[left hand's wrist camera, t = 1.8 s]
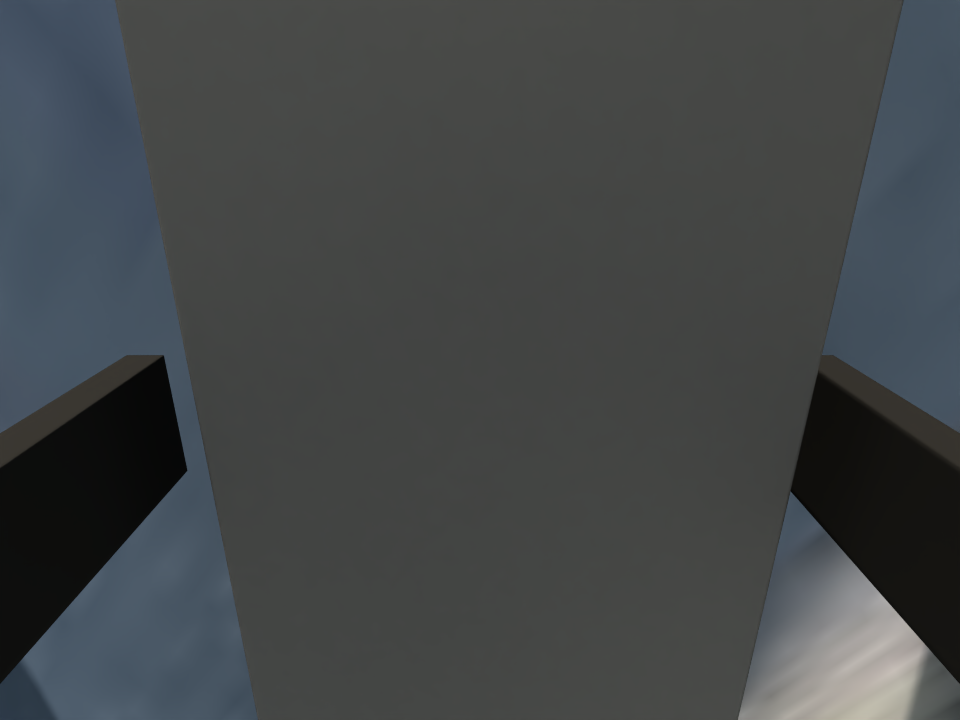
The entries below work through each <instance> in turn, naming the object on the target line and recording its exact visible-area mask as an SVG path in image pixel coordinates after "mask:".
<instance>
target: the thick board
mask: <svg viewBox="0 0 960 720" xmlns="http://www.w3.org/2000/svg"><path fill="white" fill-rule="evenodd" d="M903 1H904V0H115V2H116V7H117V12H118V17H119V22H120V27H121V32H122V37H123V42H124V47H125V52H126V57H127V62H128V67H129V72H130V77H131V82H132V87H133V92H134V97H135V102H136V107H137V112H138V117H139V122H140V127H141V132H142V137H143V142H144V147H145V152H146V157H147V163H148V168H149V173H150V178H151V183H152V188H153V193H154V198H155V203H156V208H157V213H158V218H159V223H160V228H161V233H162V238H163V243H164V248H165V253H166V258H167V263H168V268H169V273H170V278H171V283H172V288H173V293H174V298H175V303H176V308H177V313H178V318H179V323H180V329H181V334H182V339H183V344H184V349H185V354H186V359H187V364H188V369H189V374H190V379H191V384H192V389H193V394H194V399H195V404H196V409H197V414H198V419H199V424H200V429H201V434H202V439H203V444H204V449H205V454H206V459H207V464H208V469H209V474H210V479H211V484H212V490H213V495H214V500H215V505H216V510H217V515H218V520H219V525H220V530H221V535H222V540H223V545H224V550H225V555H226V560H227V565H228V570H229V575H230V580H231V585H232V590H233V595H234V600H235V605H236V610H237V615H238V620H239V625H240V630H241V635H242V640H243V645H244V651H245V656H246V661H247V666H248V671H249V676H250V681H251V686H252V691H253V696H254V701H255V706H256V711H257V716H258V720H738V716H739V712H740V707H741V703H742V699H743V694H744V690H745V686H746V681H747V677H748V673H749V668H750V664H751V660H752V655H753V651H754V647H755V642H756V638H757V634H758V629H759V625H760V621H761V616H762V612H763V608H764V603H765V599H766V595H767V590H768V586H769V582H770V577H771V573H772V569H773V564H774V560H775V556H776V551H777V547H778V543H779V538H780V534H781V530H782V525H783V521H784V517H785V512H786V508H787V504H788V499H789V495H790V491H791V486H792V482H793V478H794V473H795V469H796V465H797V460H798V456H799V452H800V447H801V443H802V439H803V434H804V430H805V425H806V421H807V417H808V412H809V408H810V404H811V399H812V395H813V391H814V386H815V382H816V378H817V373H818V369H819V365H820V360H821V356H822V352H823V347H824V343H825V339H826V334H827V330H828V326H829V321H830V317H831V313H832V308H833V304H834V300H835V295H836V291H837V287H838V282H839V278H840V274H841V269H842V265H843V261H844V256H845V252H846V248H847V243H848V239H849V235H850V230H851V226H852V222H853V217H854V213H855V209H856V204H857V200H858V196H859V191H860V187H861V183H862V178H863V174H864V170H865V165H866V161H867V157H868V152H869V148H870V144H871V139H872V135H873V131H874V126H875V122H876V118H877V113H878V109H879V105H880V100H881V96H882V92H883V87H884V83H885V79H886V74H887V70H888V66H889V61H890V57H891V53H892V48H893V44H894V40H895V35H896V31H897V27H898V22H899V18H900V14H901V9H902V5H903Z"/></svg>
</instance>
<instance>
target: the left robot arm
mask: <svg viewBox="0 0 960 720" xmlns="http://www.w3.org/2000/svg"><path fill="white" fill-rule="evenodd" d="M186 472H187V466H186V462H185V457H184V452H183V447H182V442H181V437H180V432H179V427H178V423H177V418H176V413H175V408H174V403H173V398H172V393H171V388H170V384H169V379H168V374H167V369H166V364H165V359H164V355H127V356H125V357H123V358H122V359H120V360H118V361H117V362H115V363H114V364H112V365H110V366H109V367H107V368H106V369H104V370H102V371H101V372H99V373H97V374H96V375H94V376H93V377H91V378H89V379H88V380H86V381H84V382H83V383H81V384H80V385H78V386H76V387H75V388H73V389H71V390H70V391H68V392H67V393H65V394H63V395H62V396H60V397H59V398H57V399H55V400H54V401H52V402H50V403H49V404H47V405H46V406H44V407H42V408H41V409H39V410H37V411H36V412H34V413H33V414H31V415H29V416H28V417H26V418H25V419H23V420H21V421H20V422H18V423H16V424H15V425H13V426H12V427H10V428H8V429H7V430H5V431H3V432H2V433H0V683H1V682H2V681H3V680H4V679H5V678H6V677H7V675H8V674H9V673H10V672H11V671H12V670H13V669H14V667H15V666H16V665H17V664H18V663H19V662H20V661H21V659H22V658H23V657H24V656H25V655H26V654H27V653H28V652H29V650H30V649H31V648H32V647H33V646H34V645H35V644H36V642H37V641H38V640H39V639H40V638H41V637H42V636H43V634H44V633H45V632H46V631H47V630H48V629H49V628H50V626H51V625H52V624H53V623H54V622H55V621H56V620H57V618H58V617H59V616H60V615H61V614H62V613H63V612H64V611H65V609H66V608H67V607H68V606H69V605H70V604H71V603H72V601H73V600H74V599H75V598H76V597H77V596H78V595H79V593H80V592H81V591H82V590H83V589H84V588H85V587H86V585H87V584H88V583H89V582H90V581H91V580H92V579H93V578H94V576H95V575H96V574H97V573H98V572H99V571H100V570H101V568H102V567H103V566H104V565H105V564H106V563H107V562H108V560H109V559H110V558H111V557H112V556H113V555H114V554H115V552H116V551H117V550H118V549H119V548H120V547H121V546H122V544H123V543H124V542H125V541H126V540H127V539H128V538H129V537H130V535H131V534H132V533H133V532H134V531H135V530H136V529H137V527H138V526H139V525H140V524H141V523H142V522H143V521H144V519H145V518H146V517H147V516H148V515H149V514H150V513H151V511H152V510H153V509H154V508H155V507H156V506H157V505H158V503H159V502H160V501H161V500H162V499H163V498H164V497H165V496H166V494H167V493H168V492H169V491H170V490H171V489H172V488H173V486H174V485H175V484H176V483H177V482H178V481H179V480H180V478H181V477H182V476H183V475H184V474H185V473H186ZM791 492H792V493H793V494H794V496H795V497H796V498H797V499H798V500H799V501H800V502H801V503H802V505H803V506H804V507H805V508H806V509H807V510H808V511H809V513H810V514H811V515H812V516H813V517H814V518H815V519H816V521H817V522H818V523H819V524H820V525H821V526H822V527H823V529H824V530H825V531H826V532H827V533H828V534H829V535H830V537H831V538H832V539H833V540H834V541H835V542H836V543H837V544H838V546H839V547H840V548H841V549H842V550H843V551H844V552H845V554H846V555H847V556H848V557H849V558H850V559H851V560H852V562H853V563H854V564H855V565H856V566H857V567H858V568H859V570H860V571H861V572H862V573H863V574H864V575H865V576H866V578H867V579H868V580H869V581H870V582H871V583H872V584H873V585H874V587H875V588H876V589H877V590H878V591H879V592H880V593H881V595H882V596H883V597H884V598H885V599H886V600H887V601H888V603H889V604H890V605H891V606H892V607H893V608H894V609H895V611H896V612H897V613H898V614H899V615H900V616H901V617H902V618H903V620H904V621H905V622H906V623H907V624H908V625H909V626H910V628H911V629H912V630H913V631H914V632H915V633H916V634H917V636H918V637H919V638H920V639H921V640H922V641H923V642H924V644H925V645H926V646H927V647H928V648H929V649H930V650H931V652H932V653H933V654H934V655H935V656H936V657H937V658H938V659H939V661H940V662H941V663H942V664H943V665H944V666H945V667H946V669H947V670H948V671H949V672H950V673H951V674H952V675H953V677H954V678H955V679H956V680H957V681H958V682H959V683H960V433H958V432H957V431H955V430H953V429H952V428H950V427H948V426H947V425H945V424H944V423H942V422H940V421H939V420H937V419H935V418H934V417H932V416H931V415H929V414H927V413H926V412H924V411H923V410H921V409H919V408H918V407H916V406H914V405H913V404H911V403H910V402H908V401H906V400H905V399H903V398H901V397H900V396H898V395H897V394H895V393H893V392H892V391H890V390H889V389H887V388H885V387H884V386H882V385H880V384H879V383H877V382H876V381H874V380H872V379H871V378H869V377H867V376H866V375H864V374H863V373H861V372H859V371H858V370H856V369H854V368H853V367H851V366H850V365H848V364H846V363H845V362H843V361H842V360H840V359H838V358H837V357H835V356H833V355H822V356H821V360H820V365H819V369H818V373H817V378H816V382H815V386H814V391H813V395H812V399H811V404H810V408H809V412H808V417H807V421H806V425H805V430H804V434H803V439H802V443H801V447H800V452H799V456H798V460H797V465H796V469H795V473H794V478H793V482H792V486H791Z"/></svg>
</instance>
